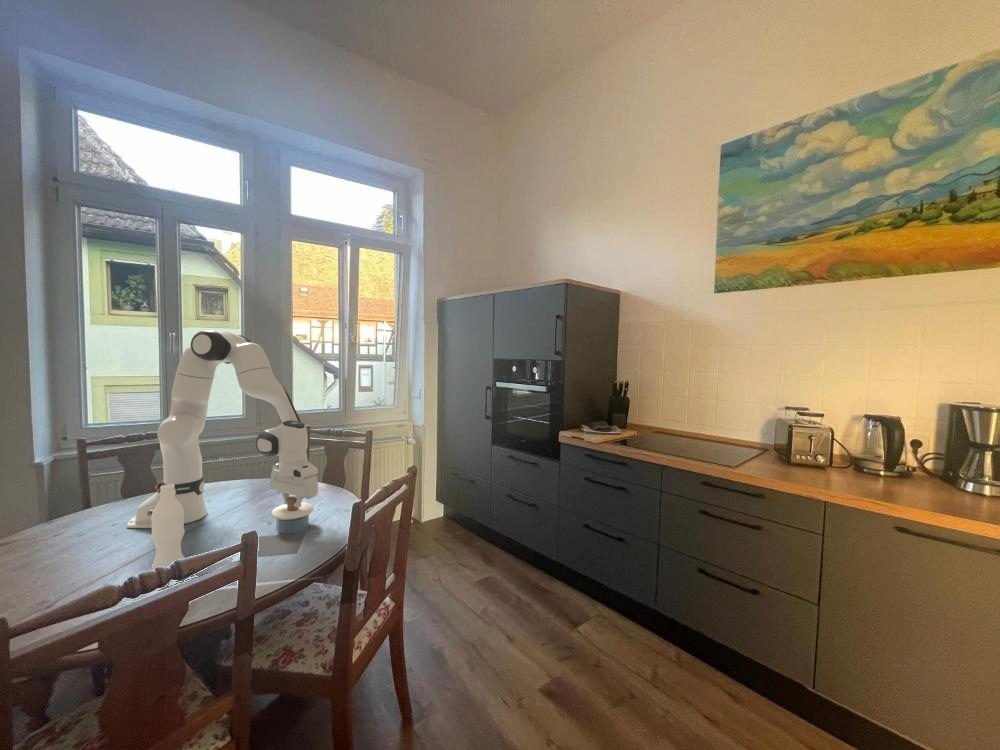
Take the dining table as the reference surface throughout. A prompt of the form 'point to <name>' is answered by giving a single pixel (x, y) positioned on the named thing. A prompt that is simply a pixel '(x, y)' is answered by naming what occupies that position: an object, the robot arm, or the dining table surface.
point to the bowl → (292, 525)
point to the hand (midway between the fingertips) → (292, 505)
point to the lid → (292, 510)
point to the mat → (279, 544)
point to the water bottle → (167, 527)
